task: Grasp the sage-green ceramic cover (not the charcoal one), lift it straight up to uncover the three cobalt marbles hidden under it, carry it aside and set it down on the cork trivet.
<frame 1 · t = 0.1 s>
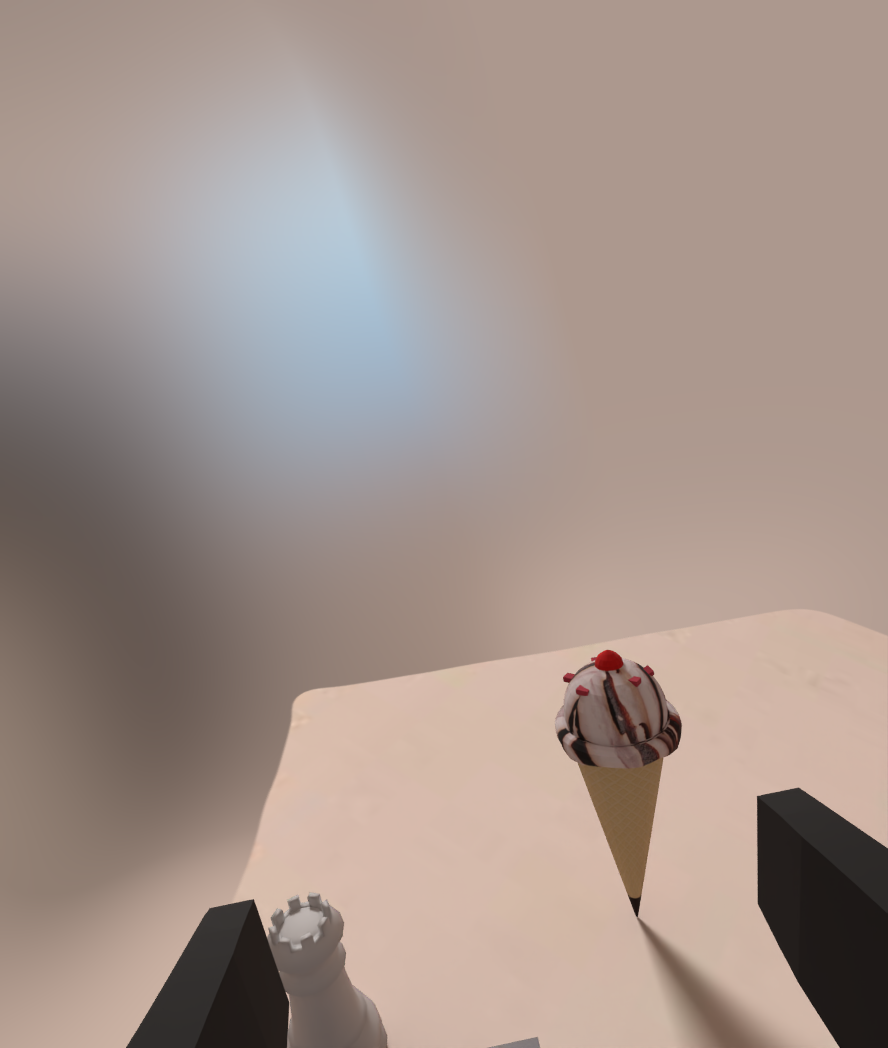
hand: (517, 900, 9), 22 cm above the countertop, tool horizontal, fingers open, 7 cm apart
ice cream cone: (637, 920, 33), on the countertop
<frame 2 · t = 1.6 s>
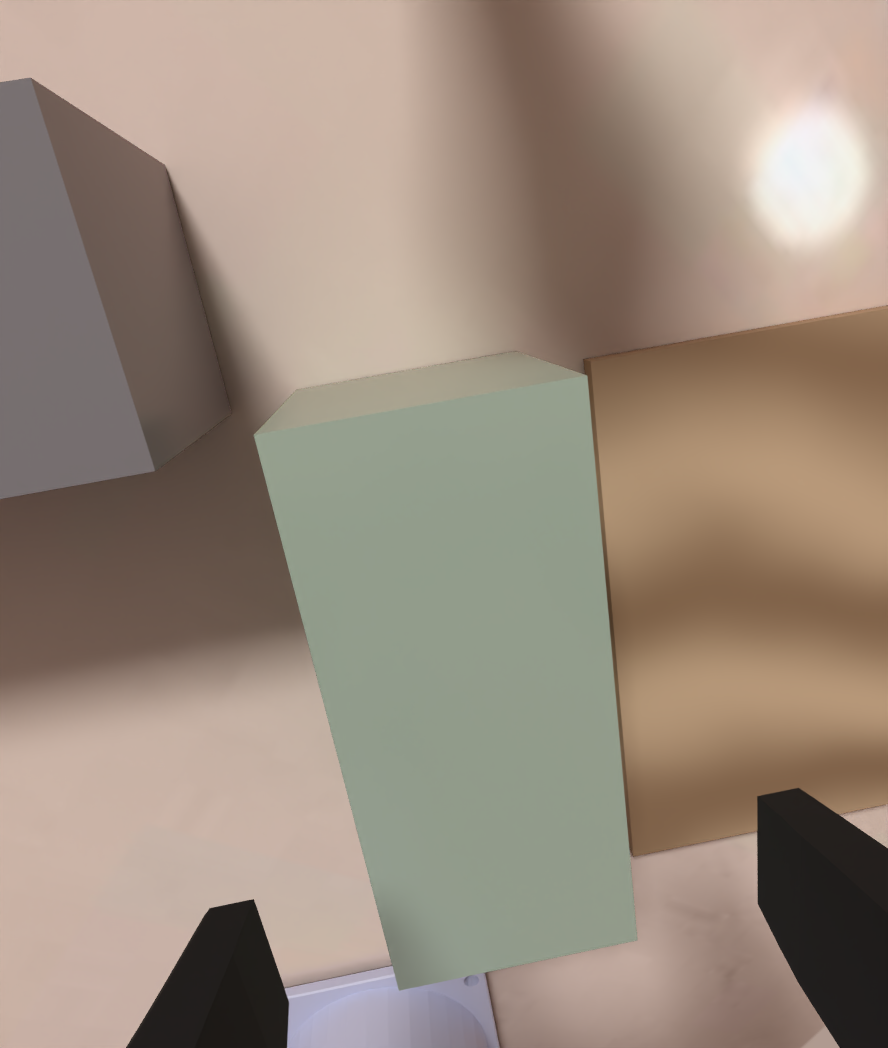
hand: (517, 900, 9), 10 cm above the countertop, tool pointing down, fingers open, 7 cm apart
sage cover: (448, 601, 19), on the countertop
cork trivet: (754, 604, 20), on the countertop
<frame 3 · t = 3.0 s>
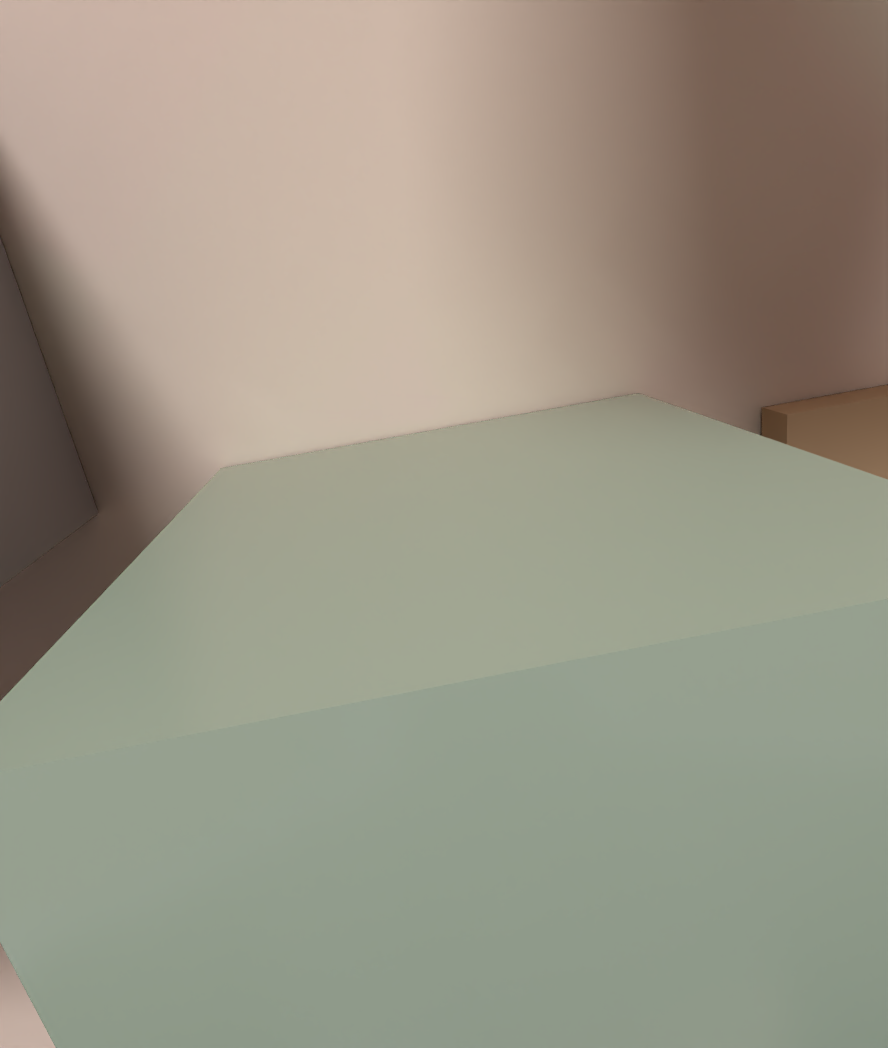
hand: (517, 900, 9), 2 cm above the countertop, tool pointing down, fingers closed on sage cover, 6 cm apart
sage cover: (498, 816, 11), on the countertop, touching gripper
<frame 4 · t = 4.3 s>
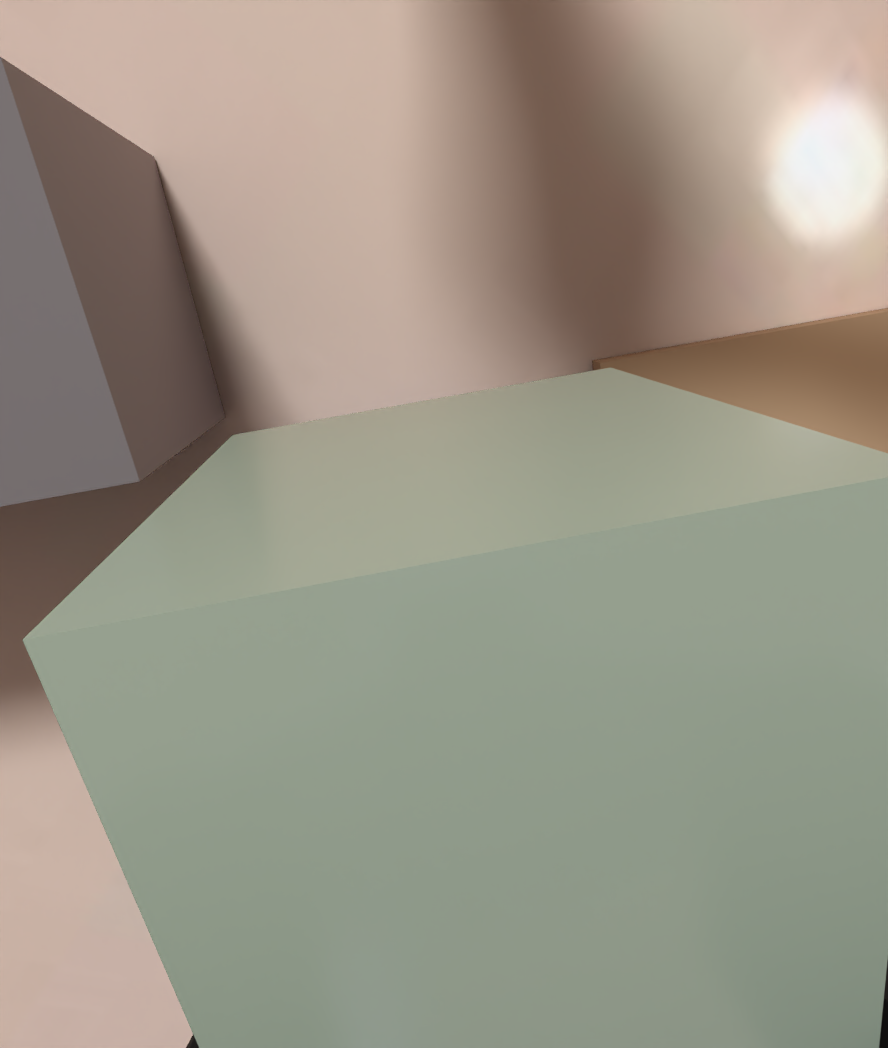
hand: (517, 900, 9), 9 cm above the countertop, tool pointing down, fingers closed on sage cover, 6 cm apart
sage cover: (485, 760, 12), point 6 cm above the countertop, touching gripper
cork trivet: (768, 614, 19), on the countertop
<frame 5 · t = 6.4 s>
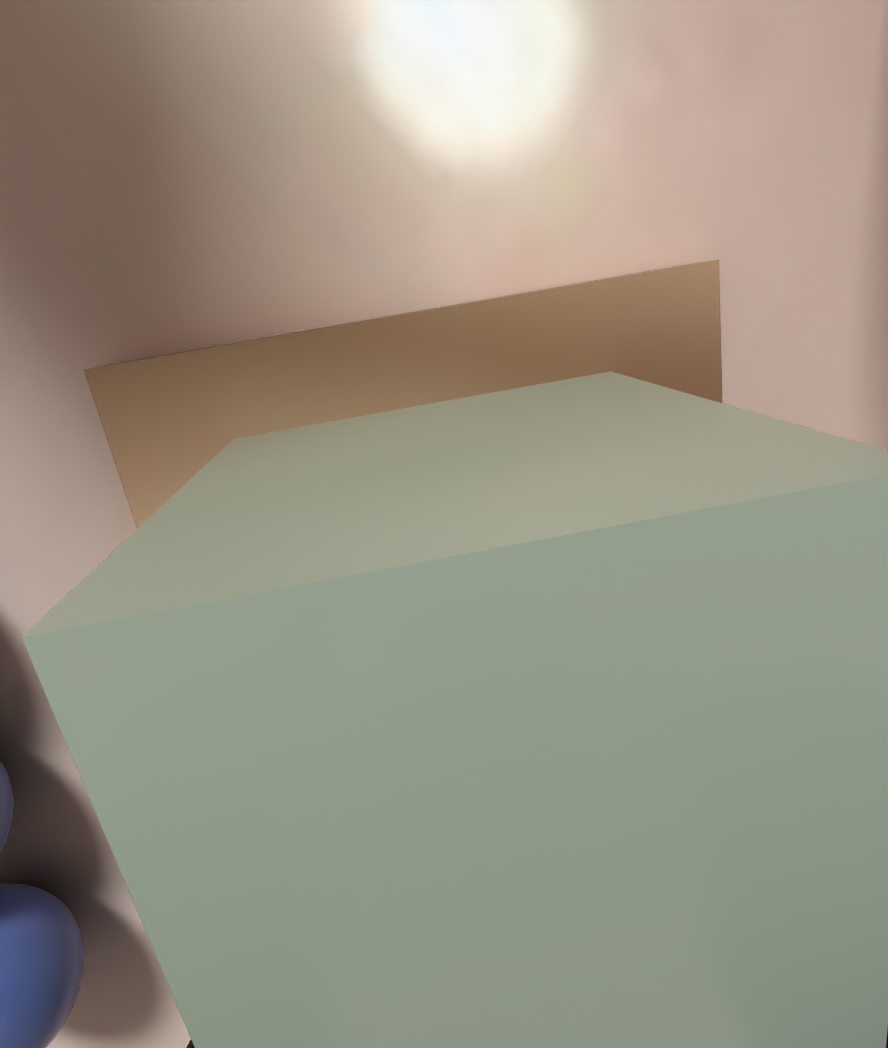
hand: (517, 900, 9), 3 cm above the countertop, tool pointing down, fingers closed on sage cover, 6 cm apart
sage cover: (486, 766, 12), point 1 cm above the countertop, touching cork trivet, gripper
cork trivet: (482, 754, 12), on the countertop
marble 1: (27, 907, 13), on the countertop
when the fingers open (3 cm above the countertop, at t = 7.0 s): sage cover stays where it is, resting on cork trivet.
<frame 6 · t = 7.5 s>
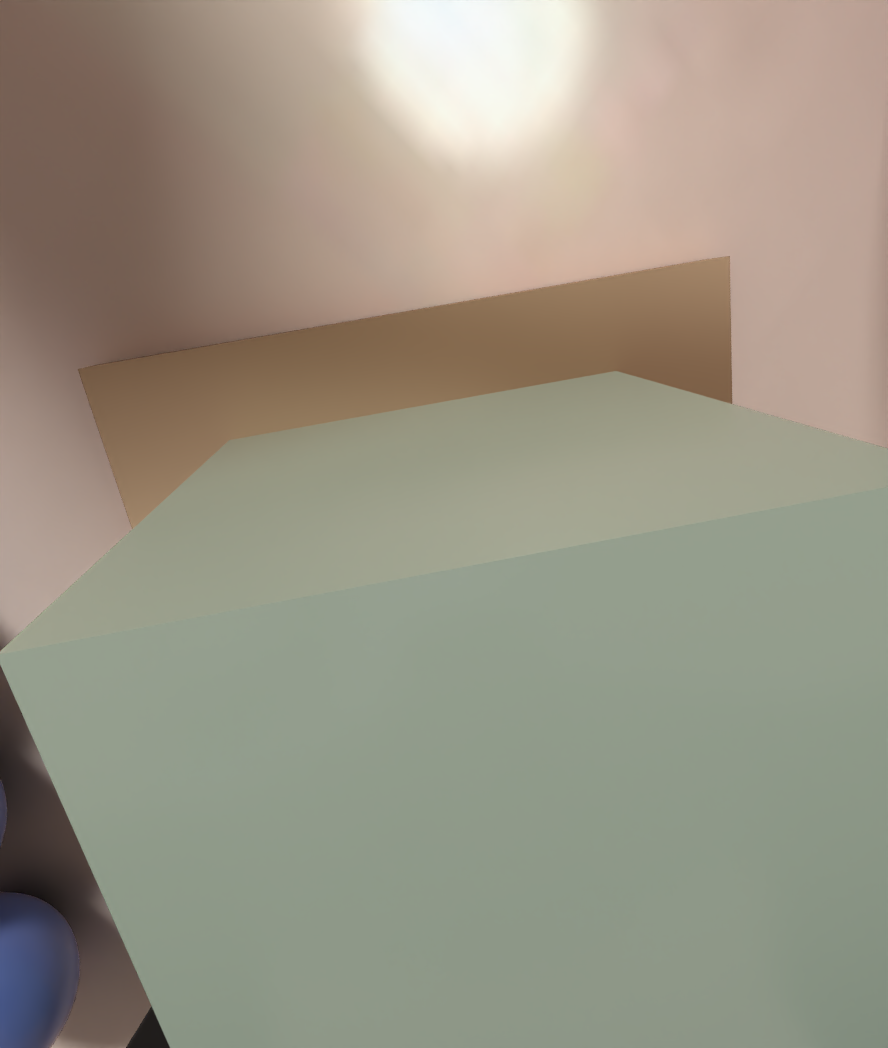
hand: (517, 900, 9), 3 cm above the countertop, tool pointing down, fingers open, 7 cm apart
sage cover: (488, 773, 12), point 1 cm above the countertop, touching cork trivet
cork trivet: (485, 760, 12), on the countertop
marble 1: (22, 915, 12), on the countertop
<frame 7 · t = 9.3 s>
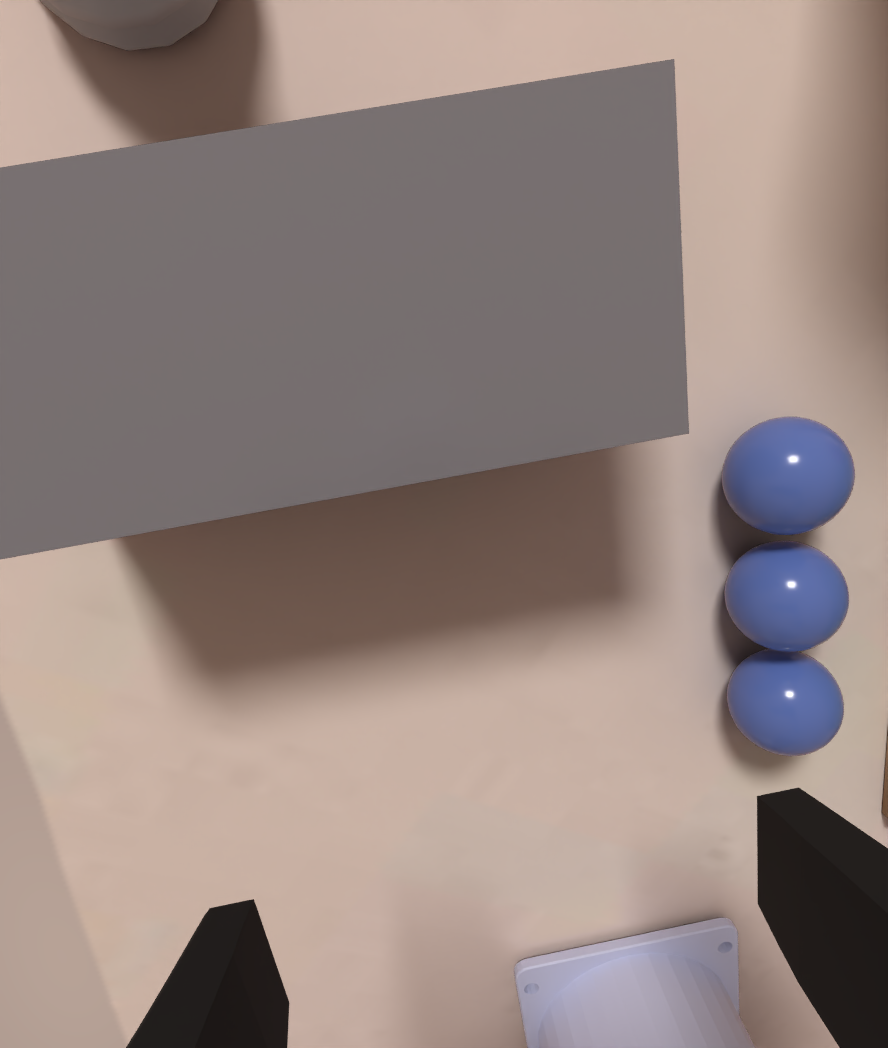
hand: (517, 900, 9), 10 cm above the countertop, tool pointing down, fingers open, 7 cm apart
marble 3: (753, 462, 18), on the countertop
marble 1: (755, 673, 20), on the countertop
marble 2: (784, 595, 18), on the countertop
charcoal cover: (314, 321, 16), on the countertop
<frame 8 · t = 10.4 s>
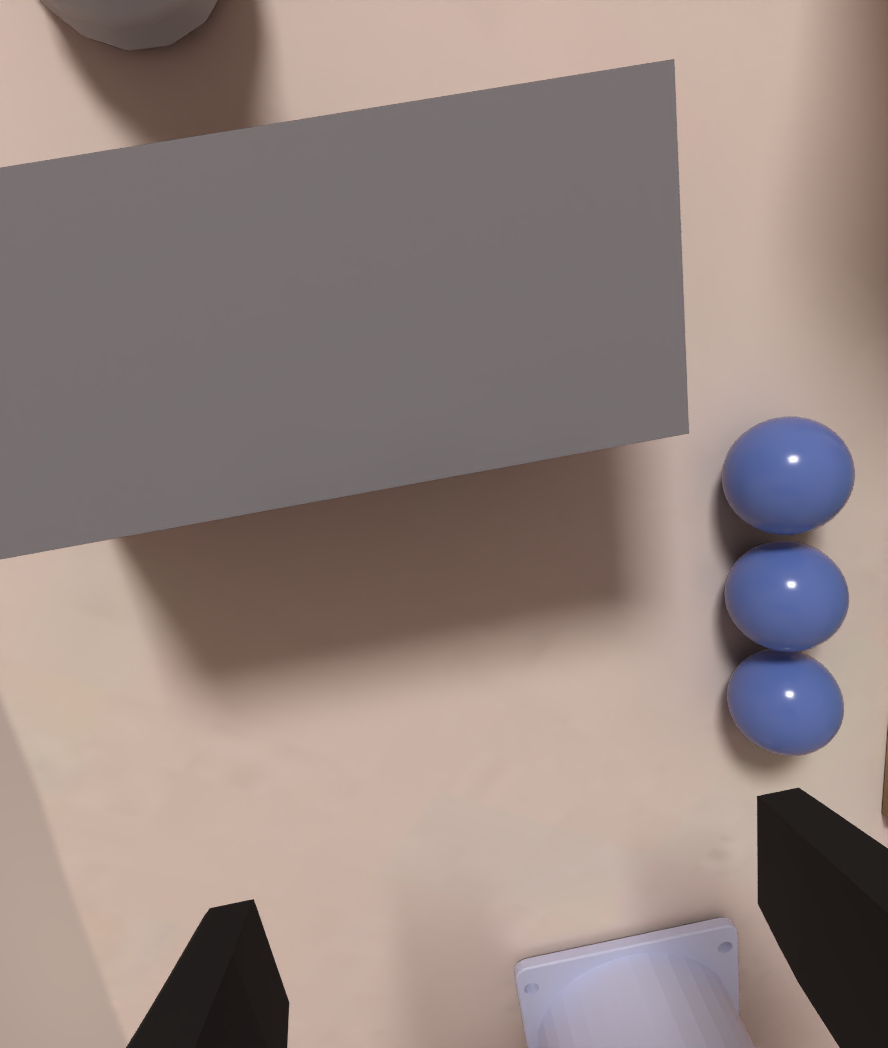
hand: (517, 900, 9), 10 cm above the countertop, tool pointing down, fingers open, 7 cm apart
marble 3: (753, 462, 18), on the countertop
marble 1: (755, 673, 20), on the countertop
marble 2: (784, 595, 18), on the countertop
charcoal cover: (314, 321, 16), on the countertop
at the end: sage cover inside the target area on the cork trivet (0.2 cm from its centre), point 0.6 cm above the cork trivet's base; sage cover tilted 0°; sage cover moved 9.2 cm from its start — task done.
